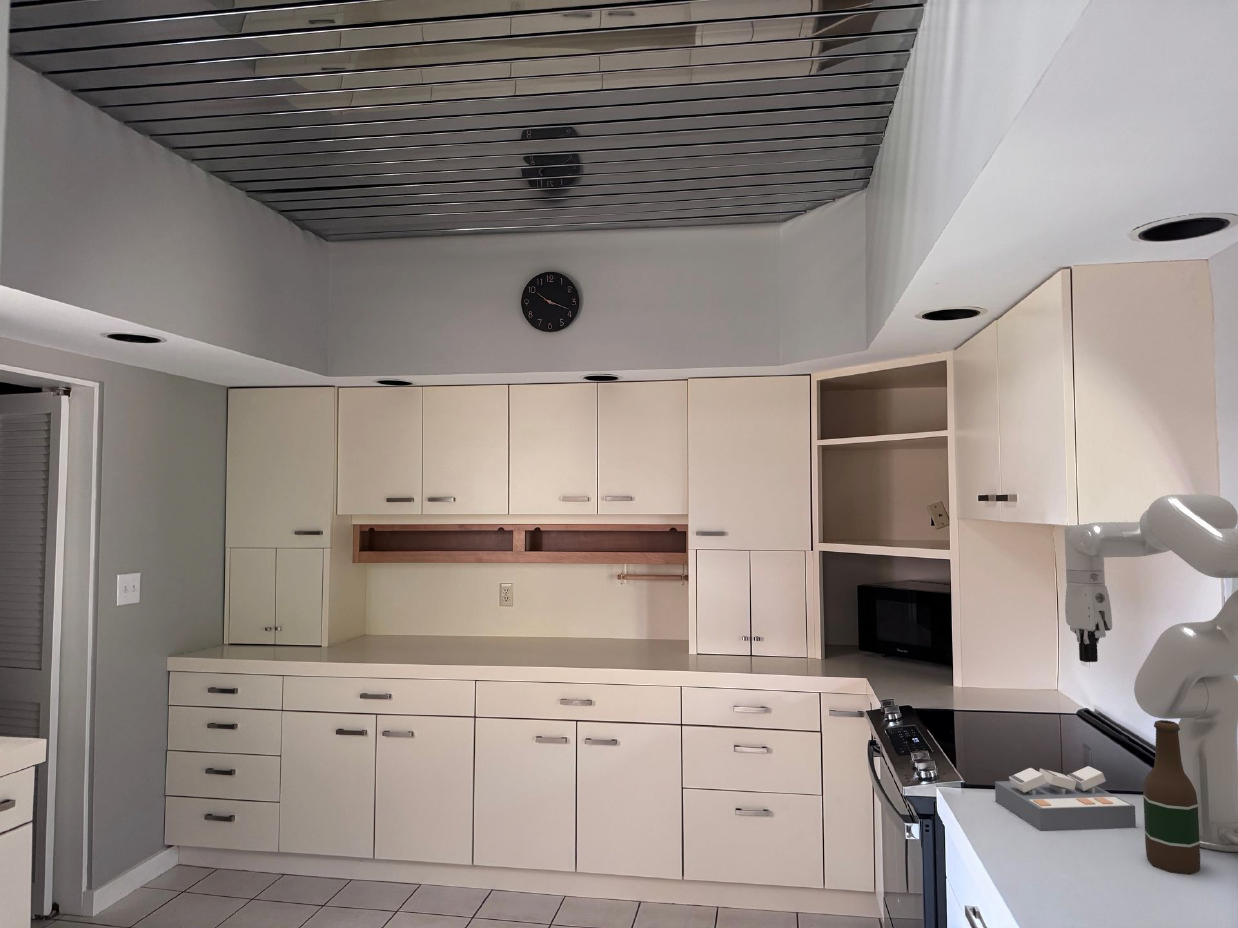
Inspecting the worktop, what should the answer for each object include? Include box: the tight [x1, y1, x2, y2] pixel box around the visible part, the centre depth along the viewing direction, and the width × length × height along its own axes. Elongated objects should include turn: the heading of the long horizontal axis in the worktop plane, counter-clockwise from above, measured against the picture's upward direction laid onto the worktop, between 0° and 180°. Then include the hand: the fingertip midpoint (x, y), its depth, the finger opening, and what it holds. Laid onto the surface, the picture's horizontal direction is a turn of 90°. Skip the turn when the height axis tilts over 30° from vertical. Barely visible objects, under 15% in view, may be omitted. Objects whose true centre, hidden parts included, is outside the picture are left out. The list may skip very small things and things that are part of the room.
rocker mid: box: [1038, 768, 1076, 790], centre depth 165 cm, size 4×5×2 cm
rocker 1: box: [1008, 767, 1046, 792], centre depth 165 cm, size 4×5×2 cm
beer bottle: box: [1143, 719, 1201, 875], centre depth 140 cm, size 8×8×24 cm
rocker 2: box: [1066, 765, 1107, 791], centre depth 166 cm, size 4×5×2 cm
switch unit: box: [994, 780, 1137, 831], centre depth 164 cm, size 16×19×5 cm
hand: (1088, 661), depth 182 cm, fingers closed
